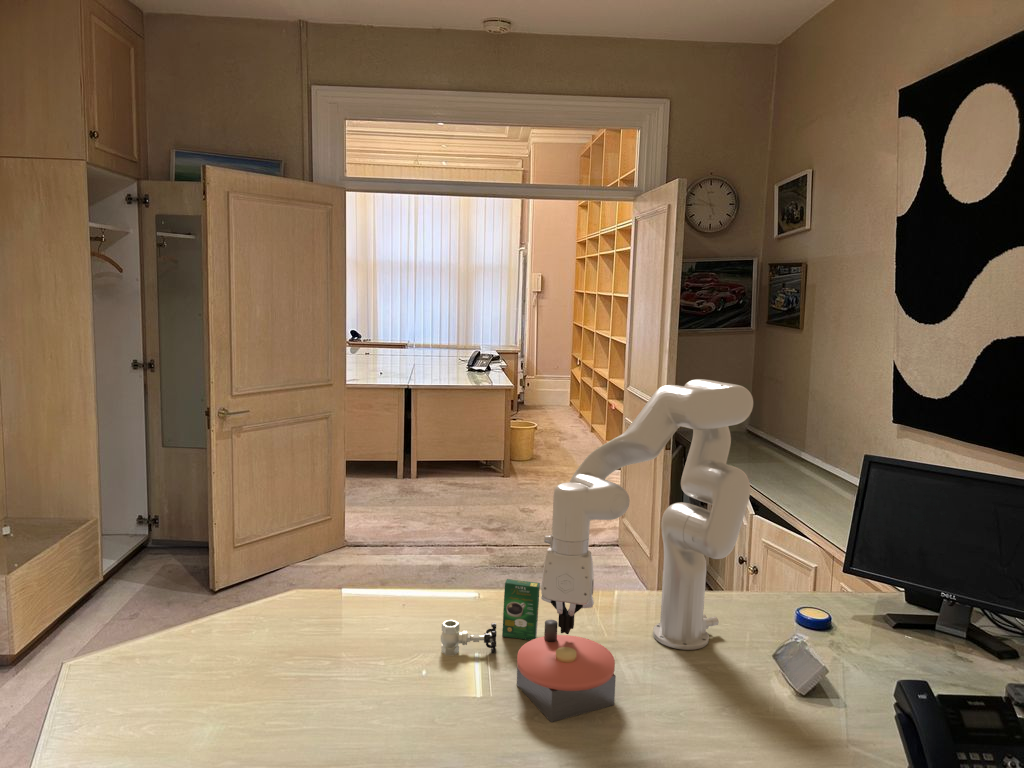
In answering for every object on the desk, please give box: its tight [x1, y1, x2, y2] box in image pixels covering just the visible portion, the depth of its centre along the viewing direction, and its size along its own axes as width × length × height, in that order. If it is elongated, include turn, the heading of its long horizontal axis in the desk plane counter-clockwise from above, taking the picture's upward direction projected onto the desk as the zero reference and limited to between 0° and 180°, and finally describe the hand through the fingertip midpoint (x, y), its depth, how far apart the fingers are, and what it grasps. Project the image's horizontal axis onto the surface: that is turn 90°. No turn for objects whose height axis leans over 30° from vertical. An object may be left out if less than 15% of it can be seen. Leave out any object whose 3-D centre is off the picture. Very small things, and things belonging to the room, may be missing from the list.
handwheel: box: [516, 619, 616, 691], centre depth 143 cm, size 19×19×5 cm
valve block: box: [516, 665, 617, 723], centre depth 144 cm, size 14×14×6 cm
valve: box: [440, 619, 497, 657], centre depth 160 cm, size 7×7×12 cm
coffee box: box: [501, 578, 541, 641], centre depth 167 cm, size 8×3×13 cm, turn 79°
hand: (565, 630), depth 151 cm, fingers closed
